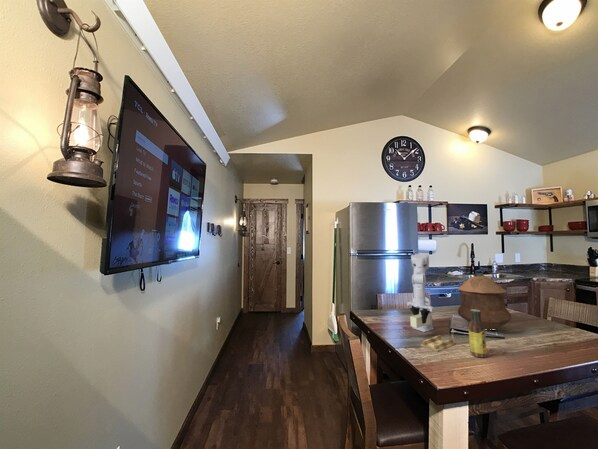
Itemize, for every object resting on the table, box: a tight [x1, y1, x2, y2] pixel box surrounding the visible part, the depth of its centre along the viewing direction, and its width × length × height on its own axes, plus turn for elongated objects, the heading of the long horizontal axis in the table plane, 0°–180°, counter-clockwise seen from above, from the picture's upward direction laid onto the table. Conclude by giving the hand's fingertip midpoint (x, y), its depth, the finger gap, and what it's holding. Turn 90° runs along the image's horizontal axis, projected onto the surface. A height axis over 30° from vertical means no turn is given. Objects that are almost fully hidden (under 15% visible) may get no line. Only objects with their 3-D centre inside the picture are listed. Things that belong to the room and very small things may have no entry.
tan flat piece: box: [420, 335, 456, 353], centre depth 128 cm, size 15×8×2 cm, turn 121°
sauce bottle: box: [468, 309, 487, 358], centre depth 117 cm, size 7×6×20 cm
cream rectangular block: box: [409, 313, 431, 328], centre depth 138 cm, size 12×4×5 cm, turn 121°
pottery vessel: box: [457, 275, 513, 330], centre depth 151 cm, size 26×26×30 cm
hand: (420, 322), depth 138 cm, fingers closed on cream rectangular block, 3 cm apart
